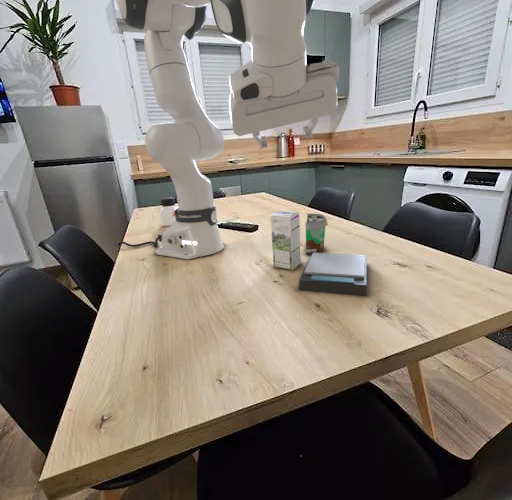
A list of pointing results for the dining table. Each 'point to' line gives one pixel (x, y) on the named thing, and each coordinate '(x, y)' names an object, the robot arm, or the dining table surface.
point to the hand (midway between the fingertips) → (285, 141)
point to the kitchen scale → (335, 274)
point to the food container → (315, 233)
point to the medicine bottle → (168, 211)
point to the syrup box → (286, 239)
